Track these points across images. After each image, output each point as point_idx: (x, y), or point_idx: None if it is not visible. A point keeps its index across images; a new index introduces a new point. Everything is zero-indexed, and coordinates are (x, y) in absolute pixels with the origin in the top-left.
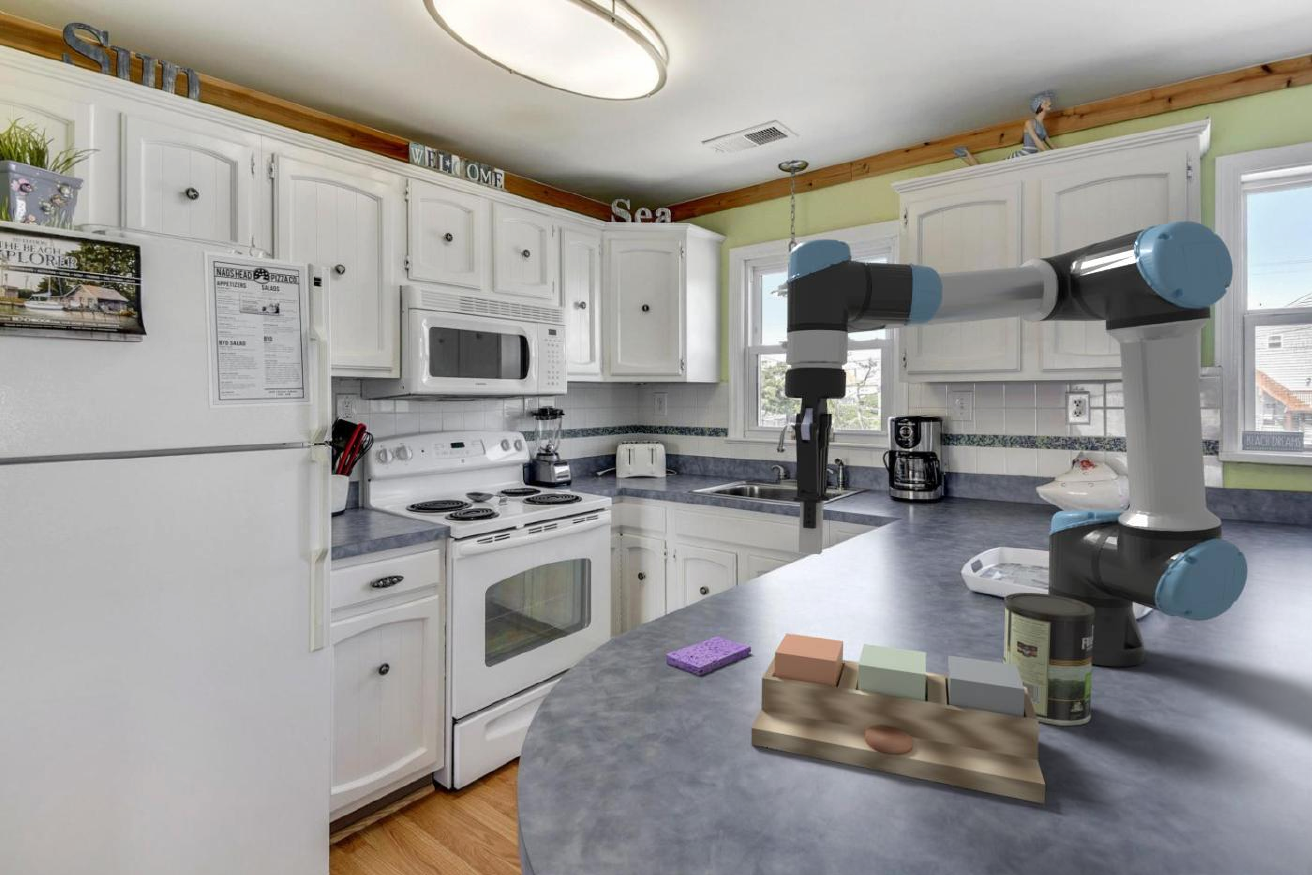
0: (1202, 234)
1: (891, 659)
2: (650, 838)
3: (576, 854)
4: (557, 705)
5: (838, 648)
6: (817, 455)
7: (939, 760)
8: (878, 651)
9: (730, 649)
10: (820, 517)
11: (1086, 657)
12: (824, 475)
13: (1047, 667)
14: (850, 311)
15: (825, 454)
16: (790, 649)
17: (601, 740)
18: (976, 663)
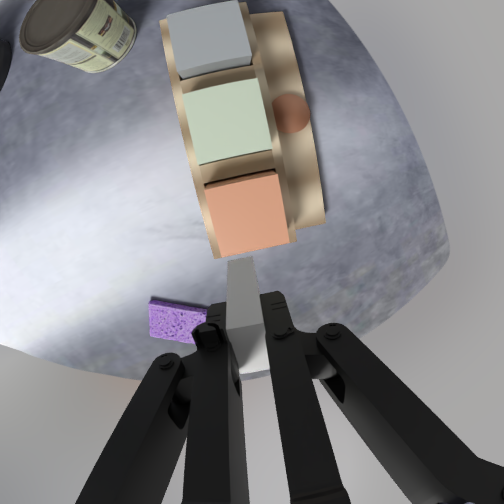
0: None
1: (232, 120)
2: (429, 223)
3: (444, 245)
4: None
5: (234, 185)
6: (423, 433)
7: (294, 73)
8: (213, 141)
9: (168, 314)
10: (259, 299)
11: None
12: (163, 402)
13: (117, 13)
14: None
15: (132, 471)
16: (272, 231)
17: (361, 303)
18: (186, 43)
